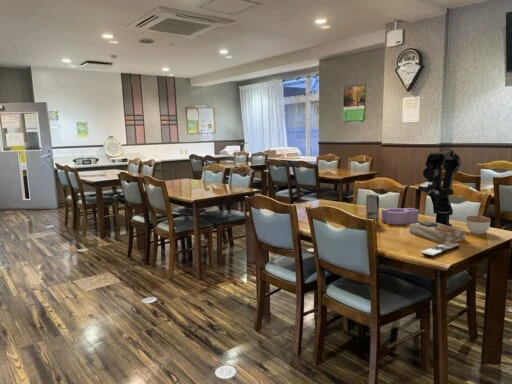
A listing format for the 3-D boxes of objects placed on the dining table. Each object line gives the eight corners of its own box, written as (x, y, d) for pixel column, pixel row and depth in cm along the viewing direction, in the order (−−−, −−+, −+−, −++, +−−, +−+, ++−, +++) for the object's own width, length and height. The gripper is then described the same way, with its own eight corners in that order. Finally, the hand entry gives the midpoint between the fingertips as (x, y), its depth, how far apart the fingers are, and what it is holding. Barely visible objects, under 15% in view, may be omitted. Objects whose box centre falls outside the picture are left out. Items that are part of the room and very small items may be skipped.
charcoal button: (428, 228, 203) (428, 221, 202) (437, 231, 197) (437, 223, 197) (419, 229, 201) (419, 222, 200) (427, 232, 195) (427, 224, 195)
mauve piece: (410, 218, 233) (411, 207, 232) (422, 223, 221) (422, 211, 220) (379, 220, 231) (379, 209, 230) (389, 225, 219) (389, 213, 217)
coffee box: (378, 225, 219) (379, 197, 216) (367, 224, 220) (367, 197, 218) (377, 221, 228) (377, 194, 225) (365, 221, 229) (366, 194, 226)
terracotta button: (444, 233, 193) (445, 225, 192) (454, 236, 187) (454, 228, 186) (435, 234, 191) (435, 227, 190) (444, 238, 185) (445, 229, 184)
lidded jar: (474, 228, 205) (475, 211, 203) (494, 233, 195) (495, 215, 194) (461, 231, 201) (462, 214, 199) (480, 236, 191) (481, 218, 189)
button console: (430, 229, 207) (431, 221, 206) (464, 239, 186) (465, 230, 186) (409, 232, 202) (409, 224, 202) (442, 243, 182) (442, 234, 181)
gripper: (410, 175, 208) (409, 204, 210) (437, 180, 190) (436, 210, 193) (427, 174, 211) (426, 202, 214) (454, 178, 194) (453, 208, 196)
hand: (434, 205), depth 204 cm, fingers closed
